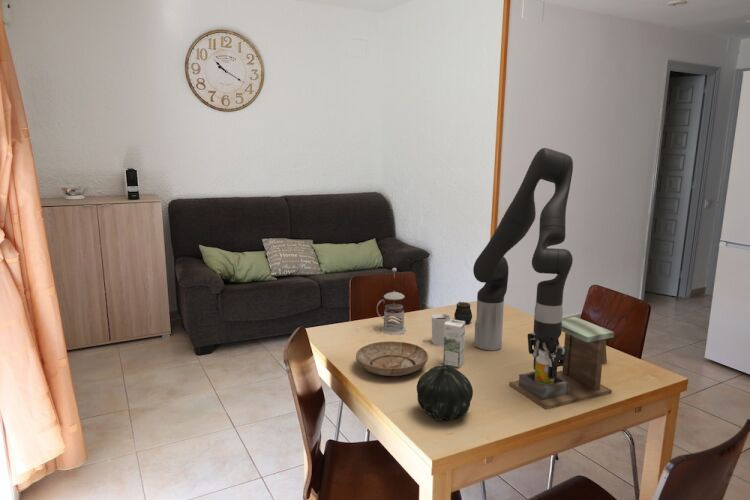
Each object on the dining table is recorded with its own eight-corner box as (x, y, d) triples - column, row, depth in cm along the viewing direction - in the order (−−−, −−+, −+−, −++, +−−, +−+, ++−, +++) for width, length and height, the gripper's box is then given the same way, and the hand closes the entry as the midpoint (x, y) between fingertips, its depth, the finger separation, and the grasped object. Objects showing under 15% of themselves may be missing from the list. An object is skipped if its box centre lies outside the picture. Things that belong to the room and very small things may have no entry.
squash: (446, 374, 152) (425, 347, 142) (489, 393, 141) (470, 365, 132) (420, 416, 147) (397, 391, 137) (463, 439, 136) (441, 414, 127)
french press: (407, 334, 199) (407, 270, 195) (376, 334, 200) (376, 270, 195) (406, 326, 209) (406, 265, 204) (376, 325, 209) (376, 264, 204)
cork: (608, 365, 171) (611, 333, 169) (589, 363, 172) (591, 331, 170) (604, 357, 177) (607, 327, 175) (585, 356, 178) (588, 325, 176)
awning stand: (546, 409, 142) (550, 345, 139) (509, 385, 157) (512, 326, 153) (611, 393, 152) (617, 332, 148) (570, 371, 166) (575, 316, 163)
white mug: (451, 341, 193) (452, 315, 191) (445, 347, 187) (446, 320, 185) (434, 338, 196) (435, 312, 194) (428, 344, 190) (428, 317, 188)
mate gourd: (473, 321, 215) (474, 297, 213) (469, 326, 208) (470, 302, 206) (456, 318, 218) (457, 295, 216) (451, 324, 211) (452, 300, 209)
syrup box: (464, 362, 174) (465, 320, 171) (459, 368, 169) (460, 325, 166) (447, 359, 176) (449, 318, 174) (442, 365, 171) (443, 323, 168)
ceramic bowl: (442, 367, 170) (443, 353, 169) (392, 391, 154) (392, 375, 153) (391, 348, 186) (391, 335, 185) (341, 367, 170) (340, 353, 169)
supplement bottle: (531, 378, 154) (533, 346, 152) (549, 377, 154) (551, 346, 152) (538, 386, 149) (540, 354, 147) (556, 385, 149) (559, 353, 147)
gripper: (577, 324, 143) (572, 381, 146) (541, 309, 156) (537, 362, 159) (555, 327, 140) (551, 386, 143) (520, 312, 153) (517, 366, 156)
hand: (544, 373), depth 151 cm, fingers closed on supplement bottle, 5 cm apart
